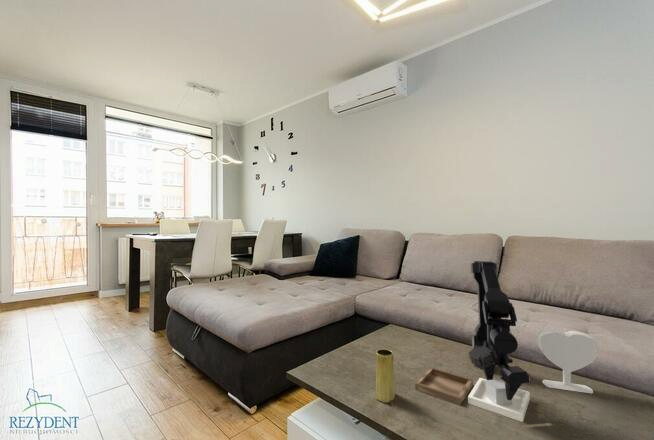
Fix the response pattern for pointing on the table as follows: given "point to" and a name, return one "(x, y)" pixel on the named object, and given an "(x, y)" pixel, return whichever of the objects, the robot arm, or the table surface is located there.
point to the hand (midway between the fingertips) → (498, 391)
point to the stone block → (497, 392)
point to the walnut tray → (444, 385)
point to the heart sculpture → (567, 355)
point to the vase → (384, 375)
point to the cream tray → (511, 411)
